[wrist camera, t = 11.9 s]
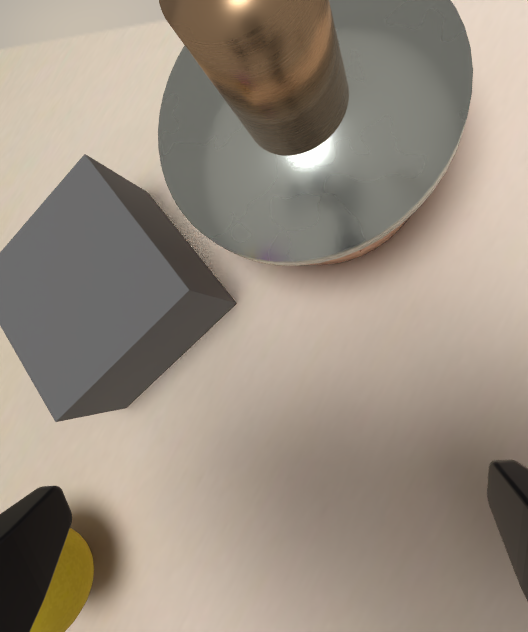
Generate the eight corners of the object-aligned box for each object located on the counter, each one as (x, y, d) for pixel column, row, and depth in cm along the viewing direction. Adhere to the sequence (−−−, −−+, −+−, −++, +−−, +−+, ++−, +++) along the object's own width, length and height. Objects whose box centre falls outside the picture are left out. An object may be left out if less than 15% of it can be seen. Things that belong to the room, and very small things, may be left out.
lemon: (65, 485, 25) (-86, 544, 17) (137, 533, 23) (3, 622, 15) (36, 570, 25) (-125, 665, 17) (105, 624, 23) (-43, 756, 15)
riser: (236, 303, 22) (189, 290, 17) (125, 408, 24) (55, 422, 19) (147, 192, 24) (84, 154, 20) (53, 294, 26) (-25, 281, 21)
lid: (554, 69, 13) (687, -189, 7) (299, 330, 15) (221, 316, 9) (301, -83, 17) (236, -347, 10) (122, 147, 19) (-24, 44, 13)
